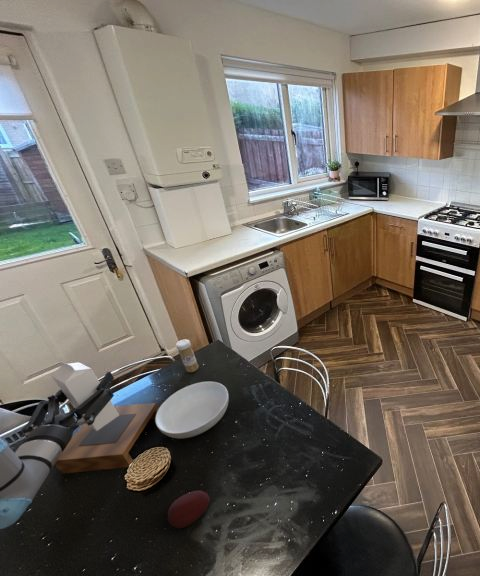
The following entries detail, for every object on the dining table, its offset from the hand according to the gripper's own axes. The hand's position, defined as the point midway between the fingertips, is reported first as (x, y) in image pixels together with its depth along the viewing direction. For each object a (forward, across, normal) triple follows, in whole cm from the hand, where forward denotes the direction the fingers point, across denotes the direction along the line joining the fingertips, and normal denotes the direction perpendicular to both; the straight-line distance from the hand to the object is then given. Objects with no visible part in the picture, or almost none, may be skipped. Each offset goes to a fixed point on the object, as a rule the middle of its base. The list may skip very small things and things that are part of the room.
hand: (92, 378), depth 90 cm
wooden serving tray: (-5, 0, -22) cm, 23 cm away
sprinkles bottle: (+24, +15, -23) cm, 36 cm away
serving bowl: (-2, +23, -23) cm, 32 cm away
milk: (-5, 0, -12) cm, 13 cm away
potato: (-34, +27, -23) cm, 49 cm away
